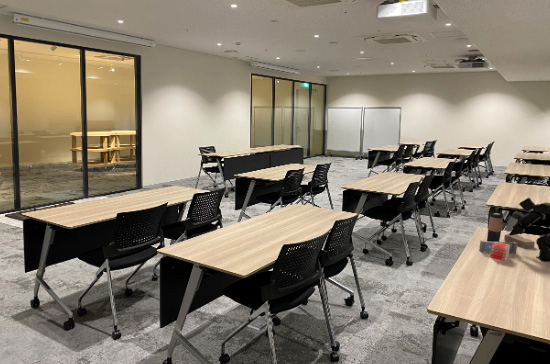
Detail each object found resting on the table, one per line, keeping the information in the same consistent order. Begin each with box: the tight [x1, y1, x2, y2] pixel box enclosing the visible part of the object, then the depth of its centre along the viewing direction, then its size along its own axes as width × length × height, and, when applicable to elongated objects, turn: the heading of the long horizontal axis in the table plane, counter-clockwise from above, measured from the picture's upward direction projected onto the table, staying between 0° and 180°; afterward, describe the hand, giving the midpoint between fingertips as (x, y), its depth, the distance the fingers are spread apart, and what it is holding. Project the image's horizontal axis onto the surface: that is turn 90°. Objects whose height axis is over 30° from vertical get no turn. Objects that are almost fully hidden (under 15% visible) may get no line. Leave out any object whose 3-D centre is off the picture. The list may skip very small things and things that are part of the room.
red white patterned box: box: [489, 241, 510, 262], centre depth 251 cm, size 8×8×8 cm
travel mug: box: [486, 211, 504, 242], centre depth 276 cm, size 8×8×20 cm
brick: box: [504, 233, 536, 249], centre depth 277 cm, size 17×8×5 cm, turn 21°
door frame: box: [478, 240, 518, 254], centre depth 260 cm, size 2×21×6 cm, turn 88°
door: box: [484, 240, 513, 254], centre depth 259 cm, size 3×16×6 cm, turn 89°
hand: (511, 232), depth 264 cm, fingers open, 9 cm apart
